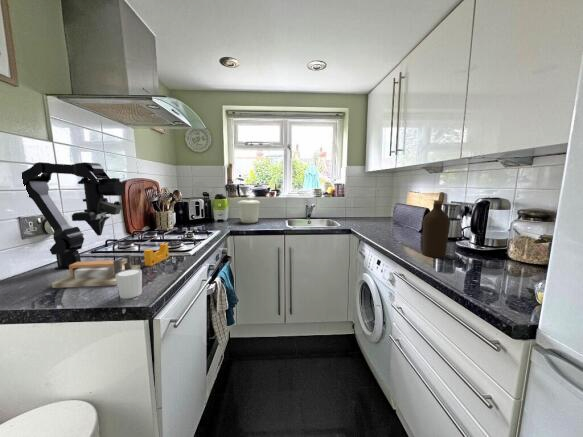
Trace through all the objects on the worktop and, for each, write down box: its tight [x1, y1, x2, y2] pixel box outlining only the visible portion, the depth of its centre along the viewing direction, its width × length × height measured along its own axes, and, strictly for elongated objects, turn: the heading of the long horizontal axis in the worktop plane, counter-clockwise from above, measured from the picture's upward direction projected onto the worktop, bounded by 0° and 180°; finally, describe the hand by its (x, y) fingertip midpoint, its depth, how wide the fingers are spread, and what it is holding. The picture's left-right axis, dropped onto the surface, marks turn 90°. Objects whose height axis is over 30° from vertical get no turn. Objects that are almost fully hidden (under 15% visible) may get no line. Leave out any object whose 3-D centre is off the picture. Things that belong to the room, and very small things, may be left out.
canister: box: [237, 196, 261, 224], centre depth 206 cm, size 18×18×21 cm
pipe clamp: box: [143, 242, 170, 267], centre depth 110 cm, size 12×4×6 cm, turn 172°
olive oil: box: [421, 199, 451, 259], centre depth 116 cm, size 11×11×25 cm
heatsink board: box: [51, 254, 141, 289], centre depth 92 cm, size 20×16×7 cm
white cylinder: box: [115, 269, 143, 299], centre depth 78 cm, size 7×7×7 cm
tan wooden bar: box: [68, 257, 128, 275], centre depth 92 cm, size 17×5×4 cm, turn 96°
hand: (99, 235), depth 102 cm, fingers closed
